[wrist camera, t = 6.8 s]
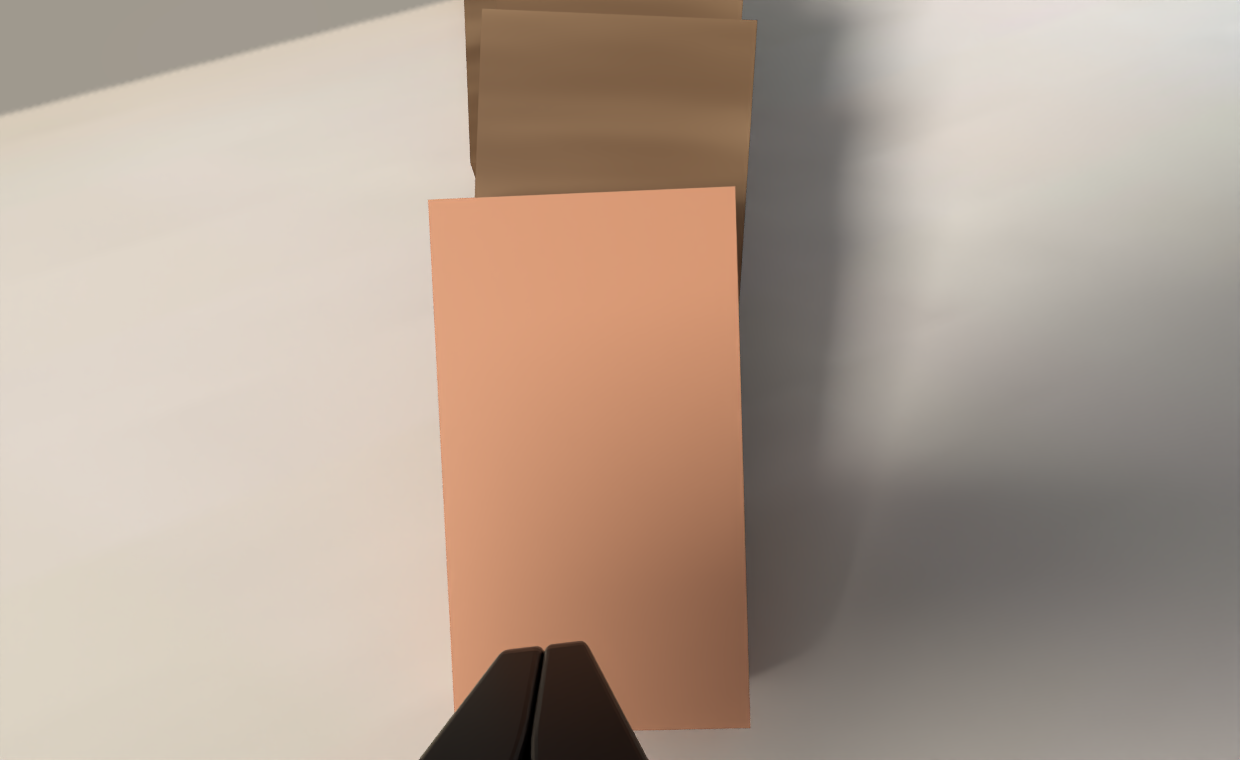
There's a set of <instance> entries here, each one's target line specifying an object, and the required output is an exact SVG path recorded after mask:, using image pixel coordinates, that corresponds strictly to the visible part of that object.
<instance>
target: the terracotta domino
mask: <svg viewBox="0 0 1240 760" xmlns="http://www.w3.org/2000/svg"><path fill="white" fill-rule="evenodd" d="M428 205H429V225H430V244H431V264H432V283H433V303H434V322H435V342H436V361H437V381H438V400H439V420H440V439H441V459H442V478H443V498H444V517H445V537H446V556H447V576H448V595H449V615H450V634H451V654H452V673H453V693H454V712H456V710H457V709H458V708H459V706H460V705H461V704H462V702H463V701H464V700H465V698H466V697H467V696H468V694H469V693H470V692H471V691H472V689H473V688H474V687H475V685H476V684H477V683H478V681H479V680H480V679H481V677H482V676H483V675H484V673H485V672H486V671H487V669H488V668H489V667H490V665H491V664H492V663H493V662H494V660H495V659H496V658H497V656H498V655H499V654H500V653H501V652H503V651H504V650H507V649H514V648H523V647H531V646H539V647H541V648H542V649H543V650H544V651H545V649H546V647H547V646H549V645H550V644H556V643H565V642H573V641H583V642H585V643H586V644H587V645H588V646H589V648H590V650H591V652H592V654H593V656H594V657H595V659H596V661H597V663H598V665H599V667H600V669H601V671H602V673H603V675H604V677H605V678H606V680H607V682H608V684H609V686H610V688H611V690H612V692H613V694H614V696H615V698H616V699H617V701H618V703H619V705H620V707H621V709H622V711H623V713H624V715H625V717H626V719H627V720H628V722H629V724H630V726H631V728H632V730H676V729H724V728H750V698H749V662H748V627H747V591H746V556H745V520H744V484H743V449H742V413H741V378H740V342H739V307H738V271H737V235H736V200H735V186H732V187H709V188H686V189H663V190H641V191H618V192H595V193H572V194H549V195H526V196H503V197H481V198H458V199H435V200H428Z"/></svg>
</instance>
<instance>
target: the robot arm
mask: <svg viewBox="0 0 1240 760" xmlns="http://www.w3.org/2000/svg"><path fill="white" fill-rule="evenodd" d="M419 760H648V759H647V757H646V755H645V753H644V751H643V749H642V747H641V745H640V743H639V741H638V739H637V738H636V736H635V734H634V732H633V730H632V728H631V726H630V724H629V722H628V720H627V719H626V717H625V715H624V713H623V711H622V709H621V707H620V705H619V703H618V701H617V699H616V698H615V696H614V694H613V692H612V690H611V688H610V686H609V684H608V682H607V680H606V678H605V677H604V675H603V673H602V671H601V669H600V667H599V665H598V663H597V661H596V659H595V657H594V656H593V654H592V652H591V650H590V648H589V646H588V645H587V644H586V643H585V642H583V641H573V642H565V643H556V644H550V645H549V646H547V647H546V649H545V651H544V650H543V649H542V648H541V647H539V646H531V647H523V648H514V649H507V650H504V651H503V652H501V653H500V654H499V655H498V656H497V658H496V659H495V660H494V662H493V663H492V664H491V665H490V667H489V668H488V669H487V671H486V672H485V673H484V675H483V676H482V677H481V679H480V680H479V681H478V683H477V684H476V685H475V687H474V688H473V689H472V691H471V692H470V693H469V694H468V696H467V697H466V698H465V700H464V701H463V702H462V704H461V705H460V706H459V708H458V709H457V710H456V712H455V713H454V714H453V716H452V717H451V718H450V719H449V721H448V722H447V723H446V725H445V726H444V727H443V729H442V730H441V731H440V733H439V734H438V735H437V737H436V738H435V739H434V741H433V742H432V743H431V744H430V746H429V747H428V748H427V750H426V751H425V752H424V754H423V755H422V756H421V758H420V759H419Z"/></svg>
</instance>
